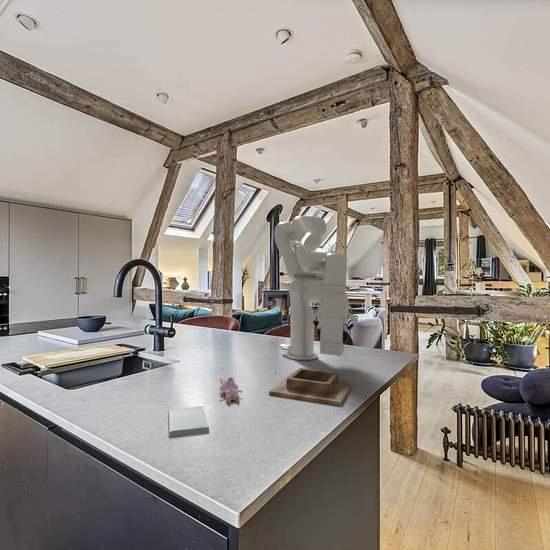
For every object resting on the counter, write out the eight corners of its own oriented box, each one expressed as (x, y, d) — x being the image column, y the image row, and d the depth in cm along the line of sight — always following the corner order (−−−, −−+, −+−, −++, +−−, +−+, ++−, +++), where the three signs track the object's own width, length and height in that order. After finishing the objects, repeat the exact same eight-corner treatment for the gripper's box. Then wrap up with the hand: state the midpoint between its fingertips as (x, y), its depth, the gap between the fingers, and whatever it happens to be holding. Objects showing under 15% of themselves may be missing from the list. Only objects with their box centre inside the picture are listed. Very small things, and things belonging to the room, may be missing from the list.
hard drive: (209, 426, 76) (203, 405, 88) (169, 431, 73) (168, 408, 85) (209, 434, 76) (203, 412, 88) (169, 439, 73) (168, 415, 85)
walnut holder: (268, 394, 99) (269, 380, 99) (292, 375, 118) (292, 363, 118) (340, 405, 92) (340, 390, 92) (353, 383, 111) (353, 371, 111)
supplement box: (344, 351, 124) (345, 315, 124) (341, 356, 117) (342, 318, 117) (323, 348, 127) (324, 313, 126) (318, 353, 120) (320, 316, 119)
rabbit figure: (245, 408, 93) (235, 381, 107) (246, 386, 92) (236, 363, 106) (221, 410, 91) (214, 383, 105) (222, 388, 90) (215, 364, 105)
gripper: (306, 288, 121) (304, 340, 121) (359, 292, 114) (356, 346, 115) (312, 287, 128) (310, 336, 128) (362, 290, 121) (359, 342, 122)
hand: (332, 340), depth 122 cm, fingers closed on supplement box, 7 cm apart
